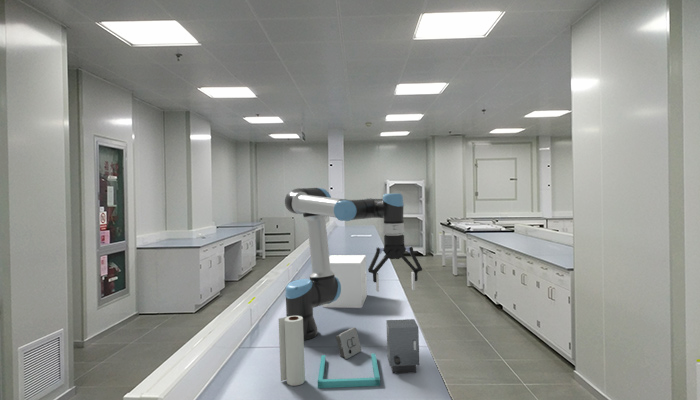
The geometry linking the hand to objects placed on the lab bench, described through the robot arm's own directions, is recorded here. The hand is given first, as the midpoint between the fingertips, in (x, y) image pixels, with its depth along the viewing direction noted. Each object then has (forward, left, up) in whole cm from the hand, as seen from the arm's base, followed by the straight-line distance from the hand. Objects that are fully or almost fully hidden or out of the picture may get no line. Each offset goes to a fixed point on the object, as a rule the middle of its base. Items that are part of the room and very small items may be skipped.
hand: (395, 290), depth 147 cm
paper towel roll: (-37, -18, -25) cm, 48 cm away
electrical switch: (-19, +2, -25) cm, 31 cm away
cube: (-19, +74, -25) cm, 80 cm away
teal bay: (-19, -13, -24) cm, 34 cm away
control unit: (0, -12, -24) cm, 27 cm away
